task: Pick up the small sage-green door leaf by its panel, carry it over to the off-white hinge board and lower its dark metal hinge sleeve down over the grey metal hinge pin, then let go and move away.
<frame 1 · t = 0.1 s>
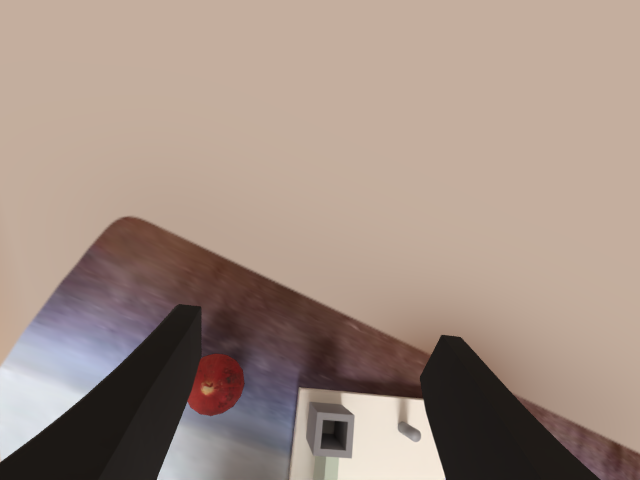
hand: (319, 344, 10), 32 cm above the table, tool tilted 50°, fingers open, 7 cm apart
door leaf: (324, 420, 38), point 1 cm above the table, touching hinge board
onion: (219, 379, 39), on the table
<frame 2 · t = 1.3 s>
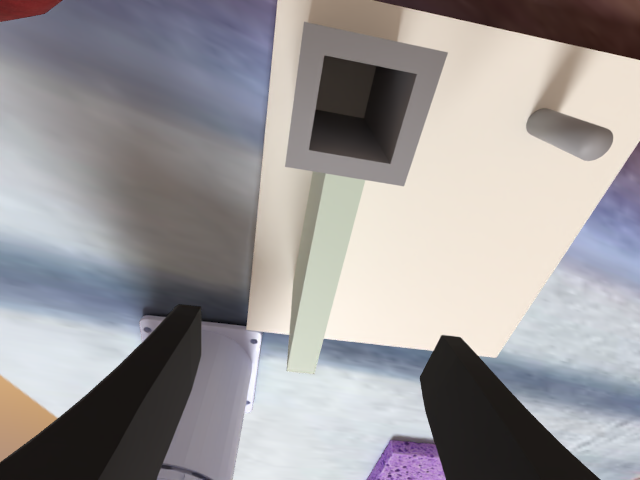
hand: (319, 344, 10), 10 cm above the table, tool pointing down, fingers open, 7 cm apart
door leaf: (342, 83, 14), point 1 cm above the table, touching hinge board
sponges: (401, 468, 36), on the table
hinge board: (413, 213, 19), on the table
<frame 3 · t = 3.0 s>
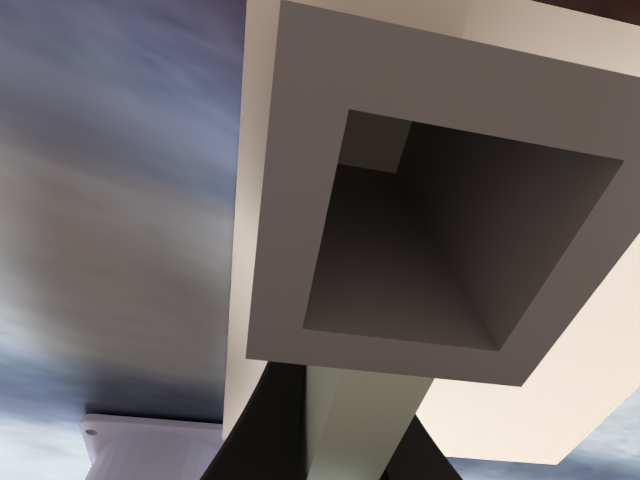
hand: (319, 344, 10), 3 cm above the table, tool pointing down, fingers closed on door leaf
door leaf: (363, 119, 9), point 1 cm above the table, touching gripper, hinge board
hinge board: (457, 292, 13), on the table
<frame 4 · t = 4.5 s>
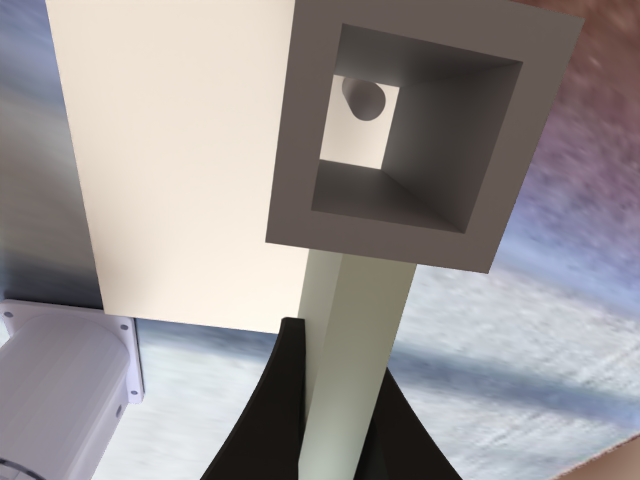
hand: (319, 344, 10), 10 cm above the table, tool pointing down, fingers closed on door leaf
door leaf: (351, 123, 10), point 7 cm above the table, tilted 11°, touching gripper
hinge board: (263, 190, 18), on the table
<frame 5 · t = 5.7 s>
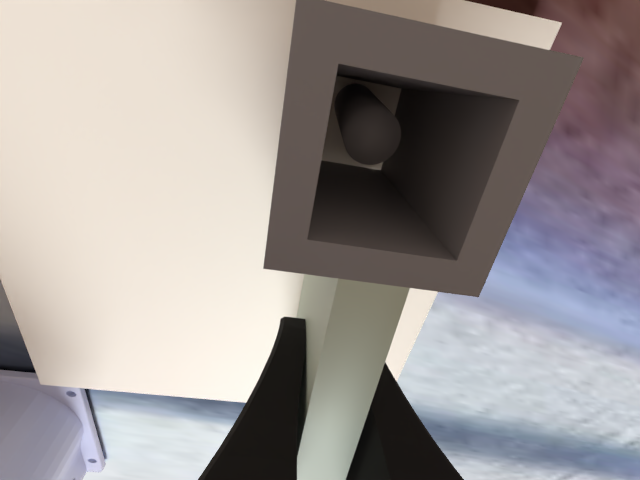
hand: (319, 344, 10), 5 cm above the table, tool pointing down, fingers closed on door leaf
door leaf: (352, 124, 10), point 2 cm above the table, tilted 7°, touching gripper
hinge board: (234, 234, 14), on the table
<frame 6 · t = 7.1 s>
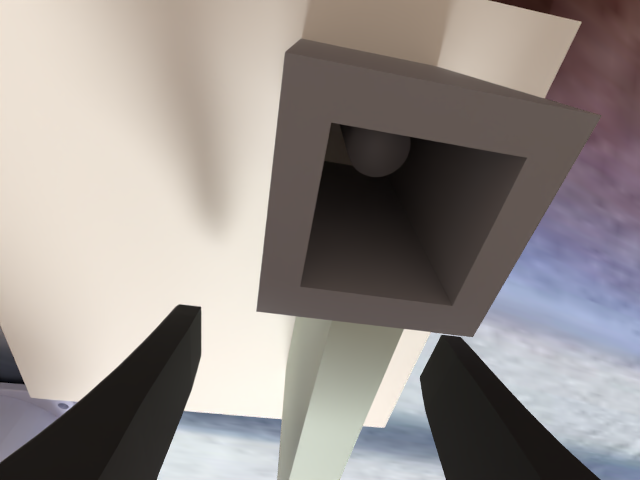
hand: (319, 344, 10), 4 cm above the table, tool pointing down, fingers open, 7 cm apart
door leaf: (354, 123, 10), point 1 cm above the table, touching hinge board
hinge board: (231, 244, 14), on the table
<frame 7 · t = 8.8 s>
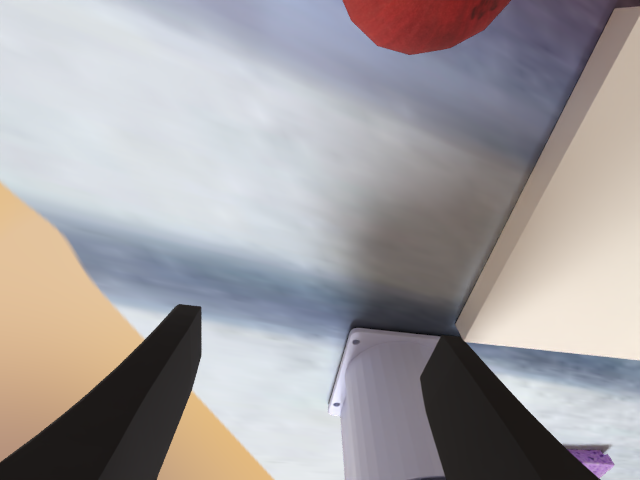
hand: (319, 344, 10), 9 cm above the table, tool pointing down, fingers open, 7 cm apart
sponges: (537, 474, 36), on the table
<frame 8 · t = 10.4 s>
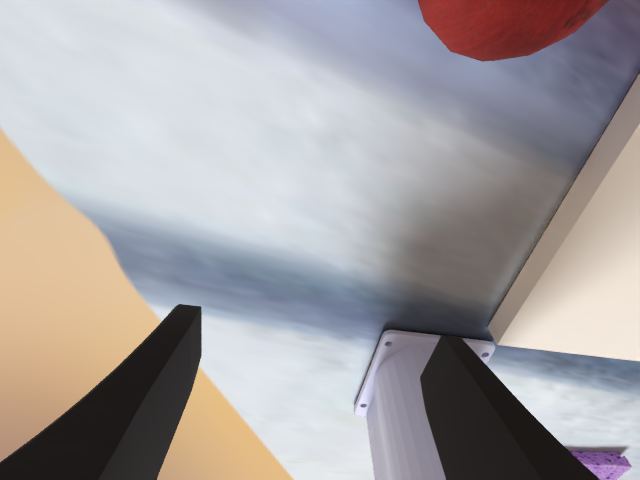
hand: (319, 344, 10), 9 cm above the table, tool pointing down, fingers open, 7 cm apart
sponges: (553, 475, 36), on the table
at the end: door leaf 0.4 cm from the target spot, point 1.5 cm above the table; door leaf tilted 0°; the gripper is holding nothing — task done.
